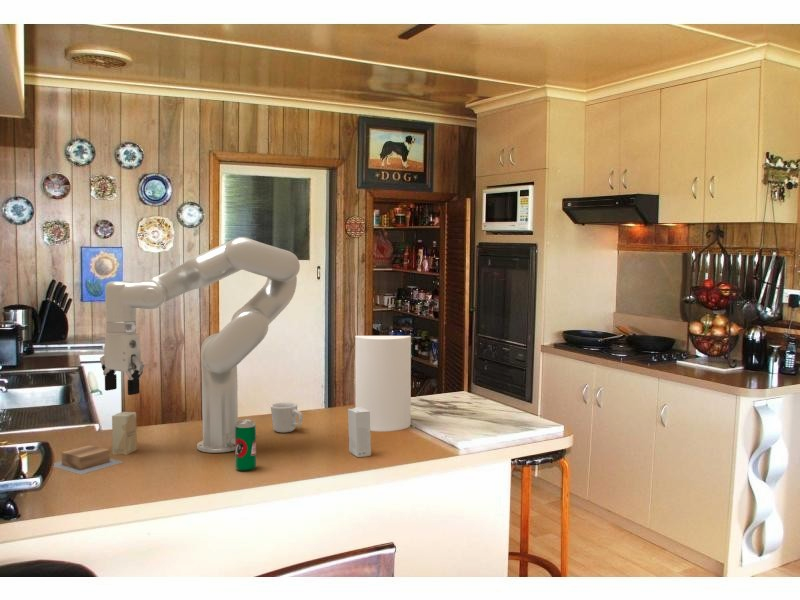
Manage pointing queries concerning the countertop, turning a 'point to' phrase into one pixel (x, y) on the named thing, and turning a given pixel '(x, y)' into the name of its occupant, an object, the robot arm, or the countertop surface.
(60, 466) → the slate mat
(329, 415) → the countertop surface
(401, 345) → the cylinder
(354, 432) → the skincare box
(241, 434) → the soda can
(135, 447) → the box
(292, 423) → the cup
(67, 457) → the walnut plinth
